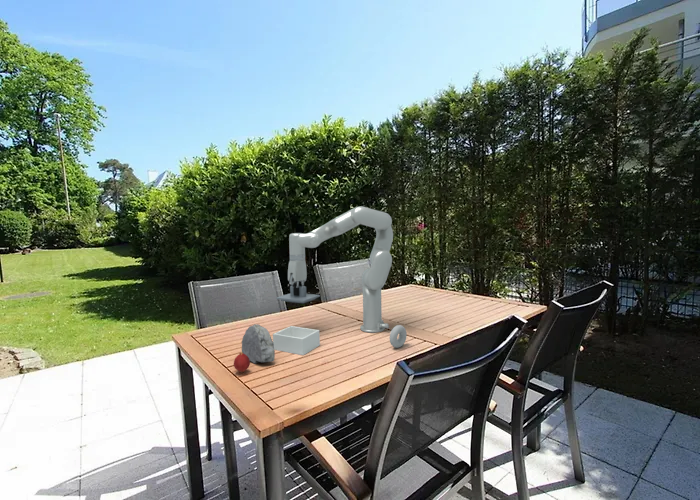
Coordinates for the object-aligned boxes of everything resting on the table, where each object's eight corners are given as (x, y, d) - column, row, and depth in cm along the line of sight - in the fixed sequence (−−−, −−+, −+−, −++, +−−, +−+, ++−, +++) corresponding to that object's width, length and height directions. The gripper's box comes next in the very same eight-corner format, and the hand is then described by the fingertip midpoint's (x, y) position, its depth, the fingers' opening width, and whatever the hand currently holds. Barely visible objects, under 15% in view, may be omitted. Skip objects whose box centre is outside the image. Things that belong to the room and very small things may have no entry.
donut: (394, 351, 148) (393, 328, 147) (387, 349, 151) (387, 327, 150) (408, 345, 155) (408, 323, 154) (402, 343, 157) (402, 322, 157)
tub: (319, 345, 157) (319, 330, 157) (303, 355, 146) (302, 339, 145) (291, 340, 165) (291, 325, 164) (273, 349, 153) (272, 333, 153)
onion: (236, 369, 133) (235, 349, 132) (251, 368, 133) (250, 348, 133) (232, 376, 127) (231, 355, 126) (248, 375, 128) (247, 354, 127)
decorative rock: (240, 358, 144) (238, 323, 142) (254, 353, 149) (252, 319, 147) (263, 368, 133) (262, 330, 132) (277, 363, 138) (276, 326, 137)
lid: (319, 298, 175) (319, 285, 174) (304, 304, 163) (303, 290, 162) (293, 295, 182) (292, 282, 182) (276, 301, 170) (276, 287, 170)
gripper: (300, 256, 180) (301, 291, 181) (280, 259, 166) (282, 297, 167) (312, 256, 176) (313, 292, 178) (293, 260, 162) (294, 298, 164)
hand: (298, 294), depth 172 cm, fingers closed on lid, 2 cm apart
